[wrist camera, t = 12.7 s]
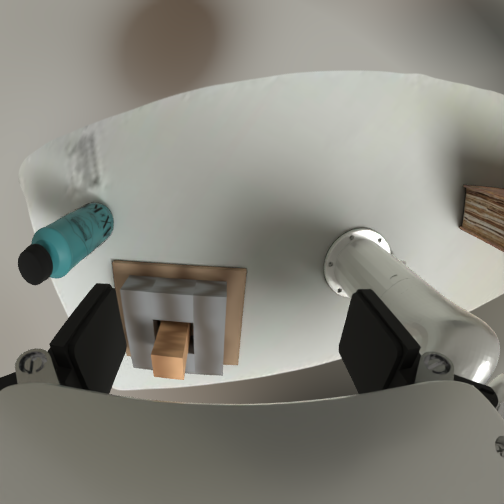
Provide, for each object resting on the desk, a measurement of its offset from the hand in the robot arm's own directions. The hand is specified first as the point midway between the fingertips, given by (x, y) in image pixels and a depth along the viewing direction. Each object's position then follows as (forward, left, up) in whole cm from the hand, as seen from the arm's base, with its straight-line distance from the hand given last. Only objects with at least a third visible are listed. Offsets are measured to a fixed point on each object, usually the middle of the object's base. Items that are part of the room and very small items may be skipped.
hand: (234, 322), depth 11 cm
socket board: (+8, +22, -33) cm, 40 cm away
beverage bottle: (+21, +5, -33) cm, 39 cm away
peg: (+7, +22, -32) cm, 39 cm away
